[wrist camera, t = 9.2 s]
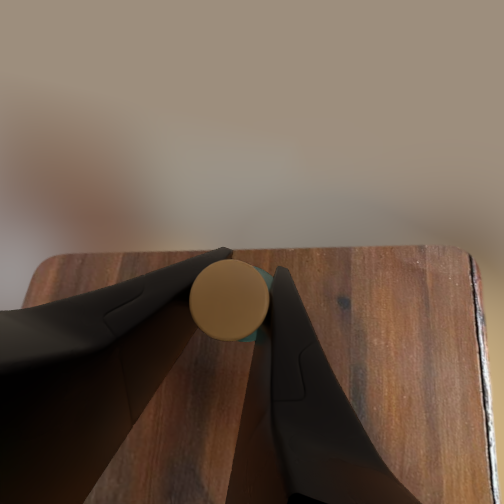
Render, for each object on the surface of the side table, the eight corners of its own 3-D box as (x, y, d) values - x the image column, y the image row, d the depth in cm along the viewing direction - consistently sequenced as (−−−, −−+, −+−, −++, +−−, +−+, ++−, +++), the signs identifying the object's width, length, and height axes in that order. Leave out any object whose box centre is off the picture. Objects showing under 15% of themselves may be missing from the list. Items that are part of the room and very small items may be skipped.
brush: (285, 313, 15) (344, 331, 5) (239, 340, 15) (190, 427, 4) (259, 268, 16) (258, 196, 5) (215, 293, 16) (123, 268, 5)
